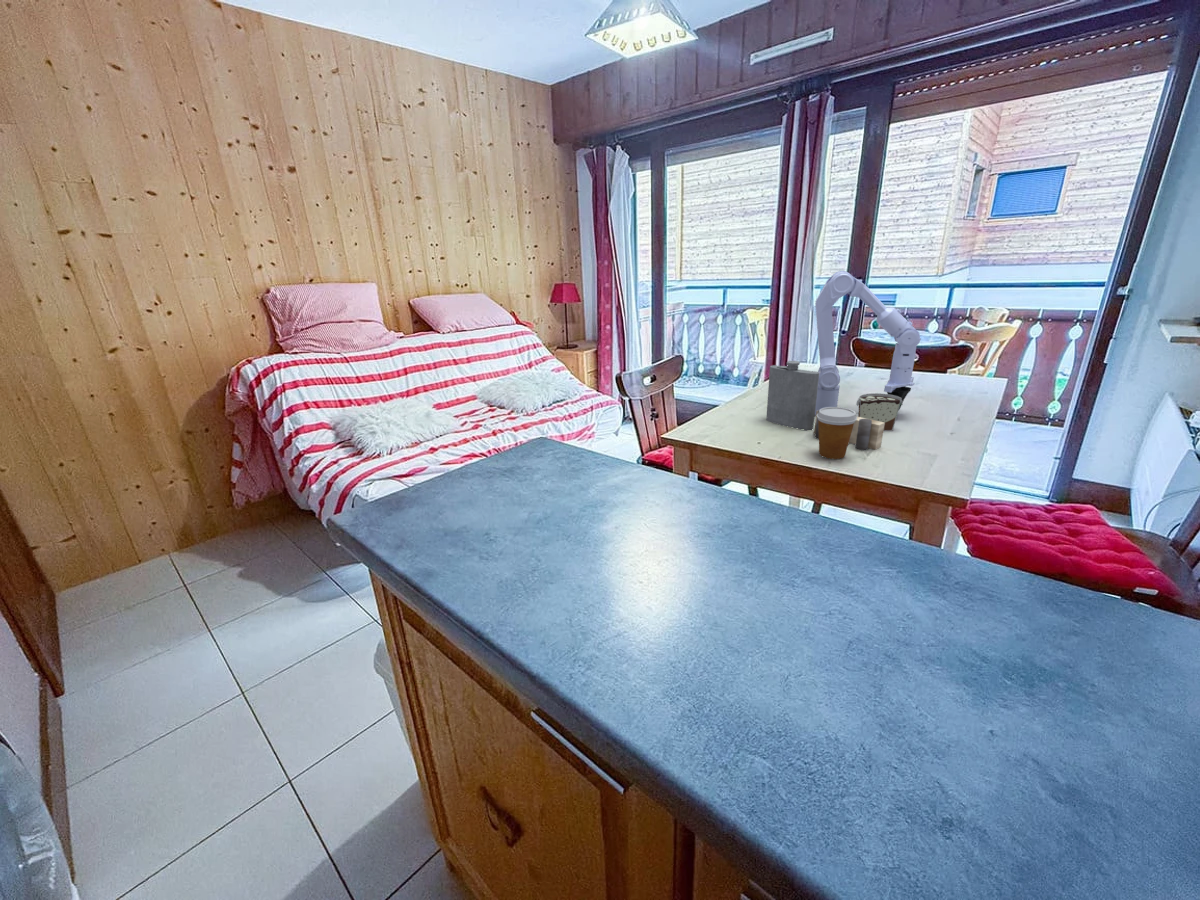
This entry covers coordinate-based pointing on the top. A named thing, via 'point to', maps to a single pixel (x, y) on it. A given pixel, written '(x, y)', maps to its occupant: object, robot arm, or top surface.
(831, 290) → the robot arm
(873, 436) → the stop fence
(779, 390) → the hip flask
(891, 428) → the food container
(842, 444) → the disposable coffee cup
